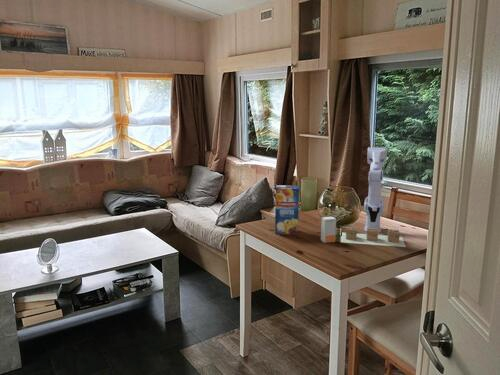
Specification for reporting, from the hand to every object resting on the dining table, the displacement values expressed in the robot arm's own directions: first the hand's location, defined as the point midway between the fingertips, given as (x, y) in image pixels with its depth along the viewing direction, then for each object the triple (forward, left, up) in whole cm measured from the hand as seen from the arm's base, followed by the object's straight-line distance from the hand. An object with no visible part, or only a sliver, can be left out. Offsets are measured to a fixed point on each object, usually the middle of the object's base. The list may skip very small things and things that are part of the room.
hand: (372, 221), depth 213 cm
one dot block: (0, +10, -9) cm, 13 cm away
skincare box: (+7, -21, -10) cm, 24 cm away
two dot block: (0, -10, -9) cm, 13 cm away
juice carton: (-4, -43, -10) cm, 44 cm away
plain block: (0, 0, -9) cm, 9 cm away
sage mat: (0, 0, -9) cm, 9 cm away
